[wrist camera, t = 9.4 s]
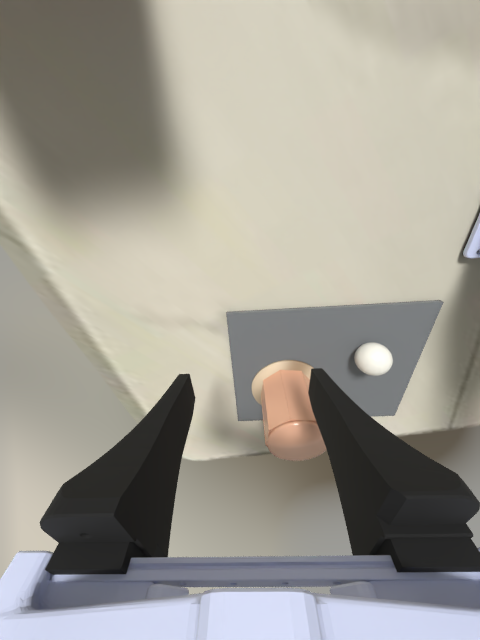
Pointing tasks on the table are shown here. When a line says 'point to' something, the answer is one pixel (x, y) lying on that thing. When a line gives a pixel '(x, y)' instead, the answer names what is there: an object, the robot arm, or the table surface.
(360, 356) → the ball
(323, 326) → the placemat
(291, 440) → the cup
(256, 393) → the coaster
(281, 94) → the table surface
